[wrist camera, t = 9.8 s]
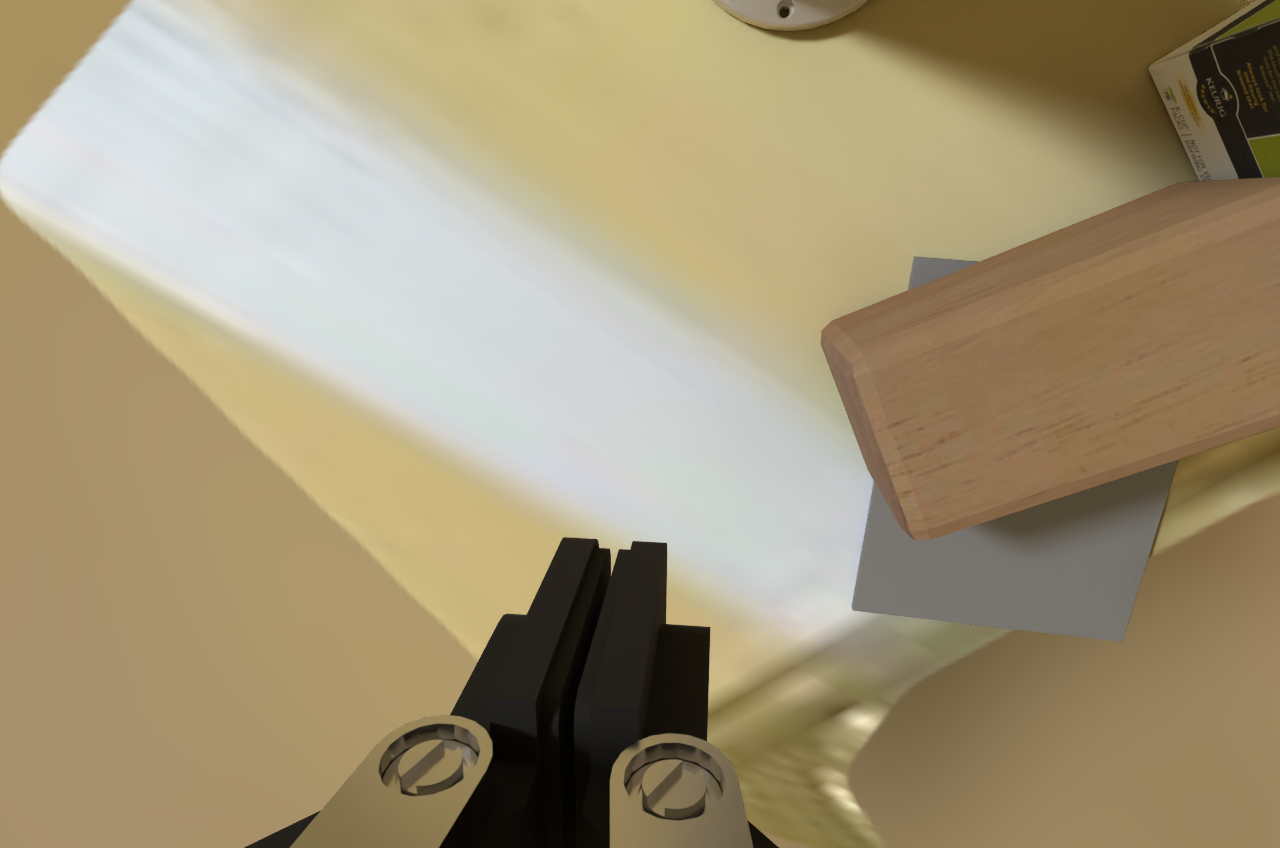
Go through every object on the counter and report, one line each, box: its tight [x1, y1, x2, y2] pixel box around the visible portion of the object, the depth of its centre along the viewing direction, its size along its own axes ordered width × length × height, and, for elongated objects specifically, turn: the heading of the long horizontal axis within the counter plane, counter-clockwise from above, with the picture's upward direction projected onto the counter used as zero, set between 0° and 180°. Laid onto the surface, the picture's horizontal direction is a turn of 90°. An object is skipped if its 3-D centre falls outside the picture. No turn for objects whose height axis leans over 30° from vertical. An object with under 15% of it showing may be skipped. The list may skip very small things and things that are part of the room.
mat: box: [852, 257, 1179, 642], centre depth 42 cm, size 22×16×1 cm
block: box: [821, 177, 1280, 540], centre depth 35 cm, size 10×10×20 cm
